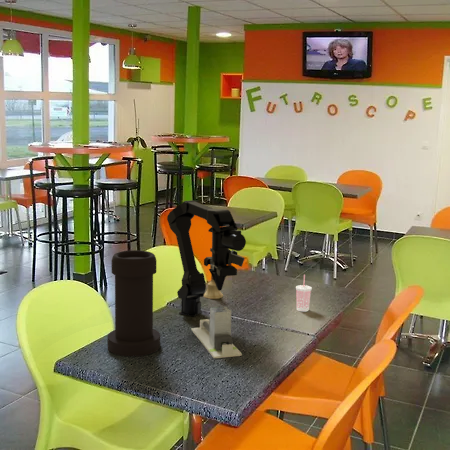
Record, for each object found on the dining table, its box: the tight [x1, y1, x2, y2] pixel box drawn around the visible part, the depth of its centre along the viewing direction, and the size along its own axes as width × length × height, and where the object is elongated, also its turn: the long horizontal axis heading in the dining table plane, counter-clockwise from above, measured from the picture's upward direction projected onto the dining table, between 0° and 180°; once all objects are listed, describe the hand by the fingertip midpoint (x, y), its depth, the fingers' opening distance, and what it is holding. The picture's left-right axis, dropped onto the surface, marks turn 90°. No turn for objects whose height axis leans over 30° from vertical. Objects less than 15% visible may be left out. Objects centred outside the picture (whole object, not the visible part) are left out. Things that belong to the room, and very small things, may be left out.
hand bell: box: [203, 264, 224, 300], centre depth 249 cm, size 8×8×16 cm
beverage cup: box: [295, 274, 313, 312], centre depth 235 cm, size 6×6×14 cm
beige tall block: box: [209, 306, 232, 348], centre depth 194 cm, size 5×5×12 cm
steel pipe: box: [203, 322, 227, 347], centre depth 199 cm, size 23×2×2 cm, turn 19°
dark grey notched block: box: [215, 335, 233, 351], centre depth 191 cm, size 2×5×4 cm, turn 109°
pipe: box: [107, 249, 161, 357], centre depth 191 cm, size 16×16×30 cm
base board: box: [190, 318, 243, 359], centre depth 199 cm, size 26×9×3 cm, turn 19°
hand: (219, 290), depth 213 cm, fingers closed
